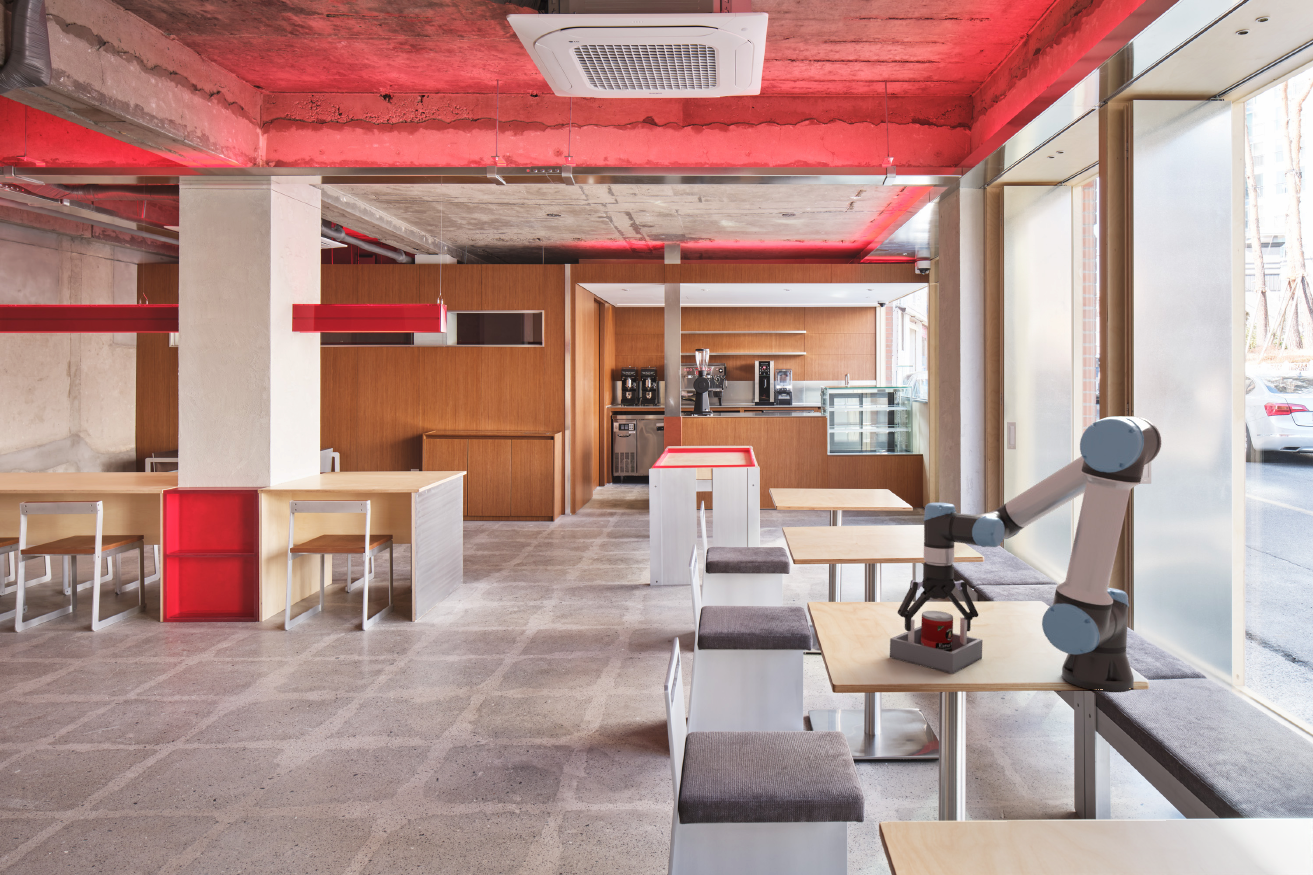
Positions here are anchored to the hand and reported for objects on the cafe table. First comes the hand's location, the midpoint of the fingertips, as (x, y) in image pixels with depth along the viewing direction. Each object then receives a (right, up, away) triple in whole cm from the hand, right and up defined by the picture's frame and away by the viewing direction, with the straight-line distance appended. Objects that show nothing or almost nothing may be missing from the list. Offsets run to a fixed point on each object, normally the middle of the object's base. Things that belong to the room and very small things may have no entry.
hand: (937, 643), depth 210 cm
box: (0, -4, 0) cm, 4 cm away
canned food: (0, -4, 0) cm, 4 cm away
